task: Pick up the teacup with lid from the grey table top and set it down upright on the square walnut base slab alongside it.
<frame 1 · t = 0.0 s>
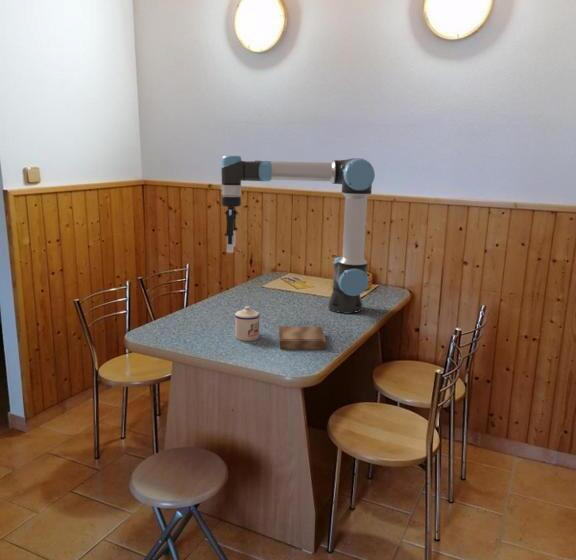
hand: (231, 249, 220), 28 cm above the table, tool pointing down, fingers open, 13 cm apart
walnut base: (301, 341, 199), on the table
teacup with lid: (249, 336, 203), on the table
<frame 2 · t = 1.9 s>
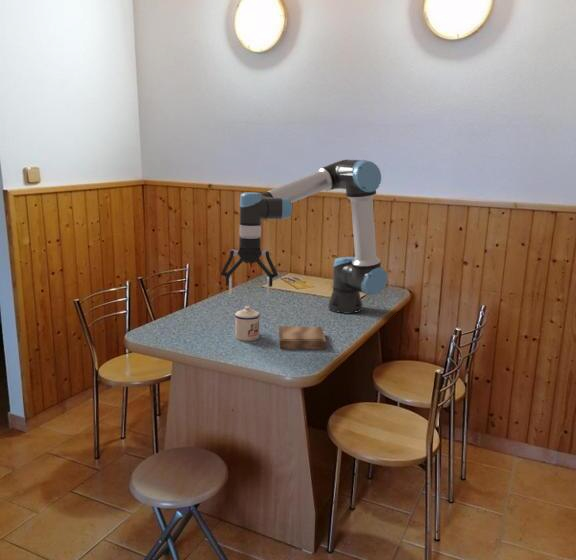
hand: (249, 294, 199), 16 cm above the table, tool pointing down, fingers open, 13 cm apart
nothing on the table moved.
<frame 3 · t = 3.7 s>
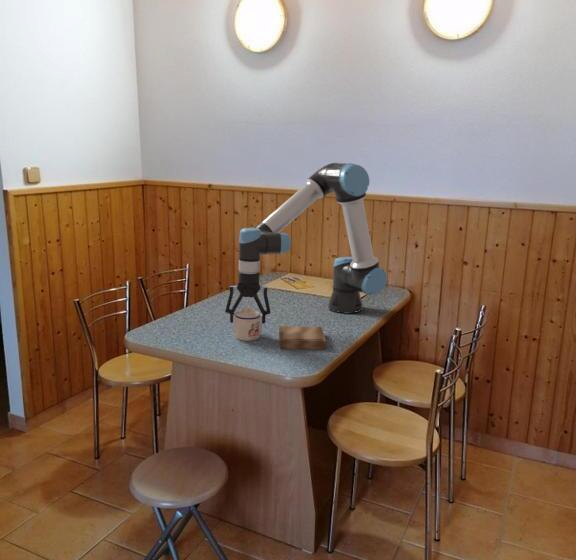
hand: (247, 331, 202), 2 cm above the table, tool pointing down, fingers closed on teacup with lid, 9 cm apart
teacup with lid: (249, 336, 203), on the table, touching gripper
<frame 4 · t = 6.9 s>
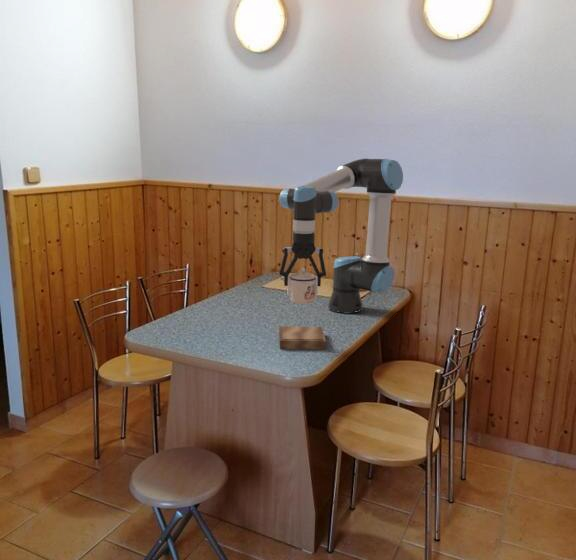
hand: (302, 294, 195), 17 cm above the table, tool pointing down, fingers closed on teacup with lid, 9 cm apart
teacup with lid: (304, 300, 196), point 15 cm above the table, touching gripper
when the fingers open (5 cm above the table, at t = 10.0 s): teacup with lid stays where it is, resting on walnut base.
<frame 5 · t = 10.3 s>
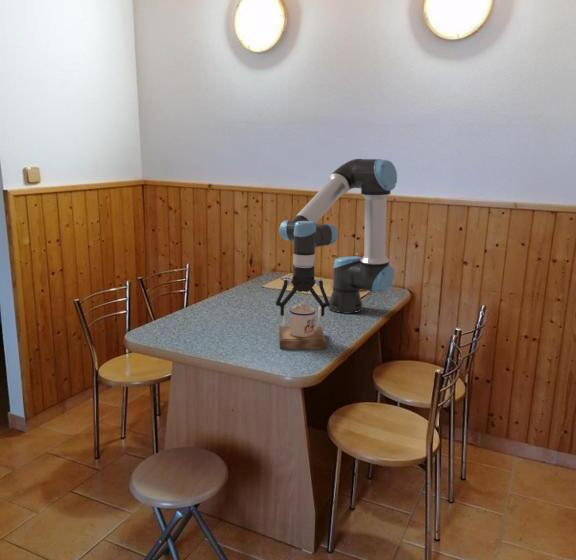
hand: (301, 324, 197), 6 cm above the table, tool pointing down, fingers open, 12 cm apart
teacup with lid: (303, 333, 198), point 3 cm above the table, touching walnut base
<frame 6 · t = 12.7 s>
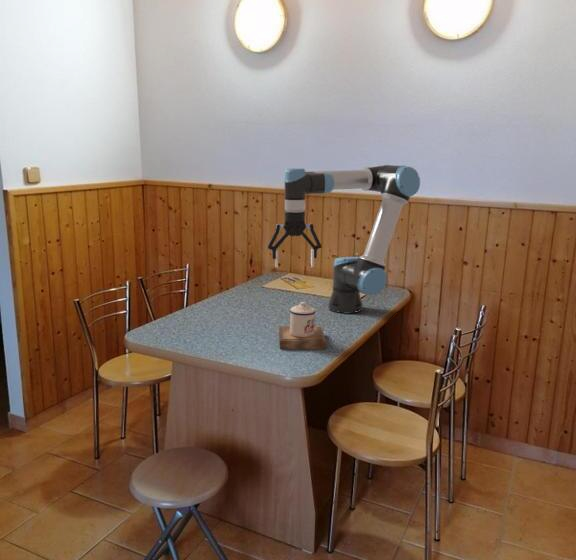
hand: (294, 267, 209), 24 cm above the table, tool pointing down, fingers open, 13 cm apart
nothing on the table moved.
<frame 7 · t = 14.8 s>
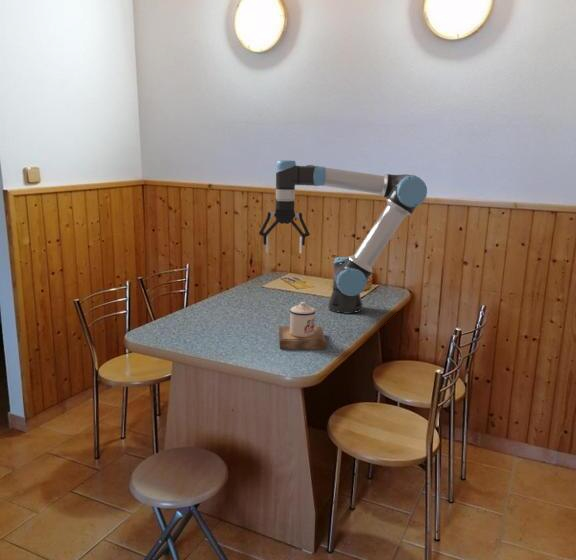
hand: (283, 252, 223), 27 cm above the table, tool pointing down, fingers open, 13 cm apart
nothing on the table moved.
at the end: teacup with lid inside the target area on the walnut base (0.8 cm from its centre), point 3.1 cm above the walnut base's base; teacup with lid tilted 0°; the gripper is holding nothing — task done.
